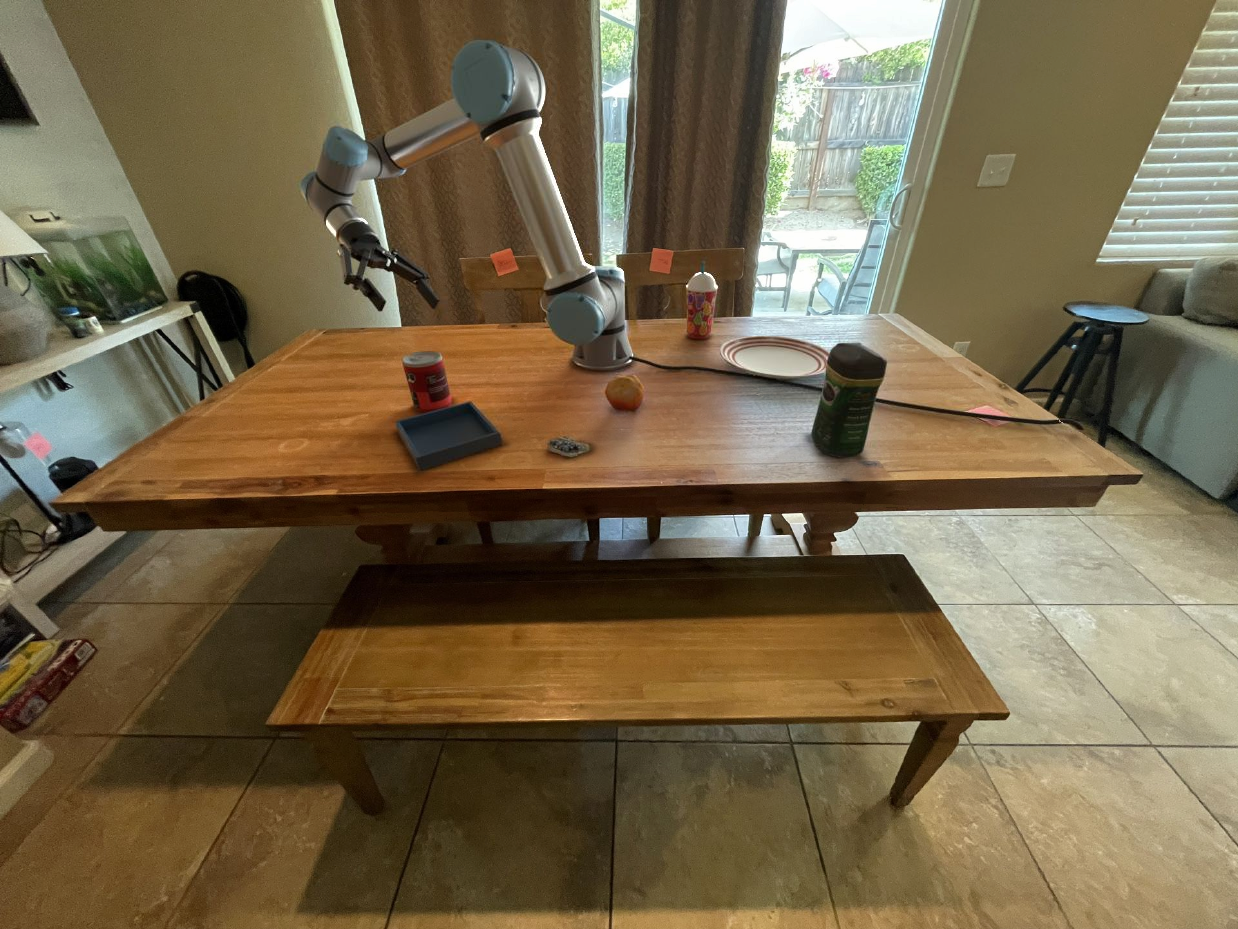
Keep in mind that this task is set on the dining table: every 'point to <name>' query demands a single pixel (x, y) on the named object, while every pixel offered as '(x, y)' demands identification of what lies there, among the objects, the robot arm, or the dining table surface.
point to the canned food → (427, 380)
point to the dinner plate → (775, 356)
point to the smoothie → (700, 304)
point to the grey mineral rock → (567, 447)
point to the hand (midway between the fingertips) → (410, 305)
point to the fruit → (625, 393)
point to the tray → (447, 434)
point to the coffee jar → (847, 399)
